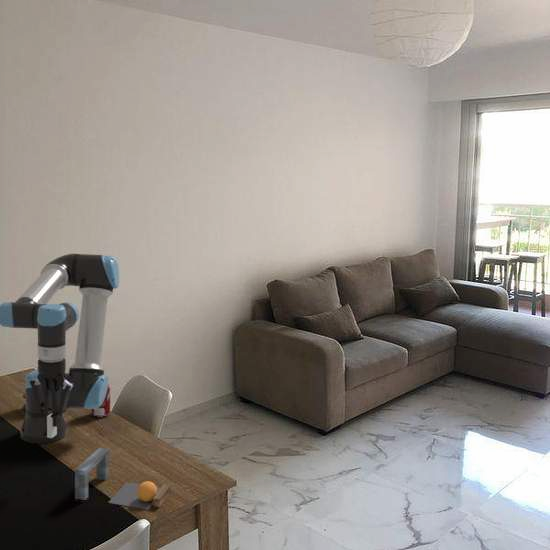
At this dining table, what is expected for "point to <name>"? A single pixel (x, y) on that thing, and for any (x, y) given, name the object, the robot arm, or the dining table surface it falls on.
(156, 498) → the stopper wall
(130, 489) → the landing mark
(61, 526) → the dining table surface
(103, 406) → the soda can
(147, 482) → the ball
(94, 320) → the robot arm
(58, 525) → the dining table surface
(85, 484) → the bridge
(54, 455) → the dining table surface
